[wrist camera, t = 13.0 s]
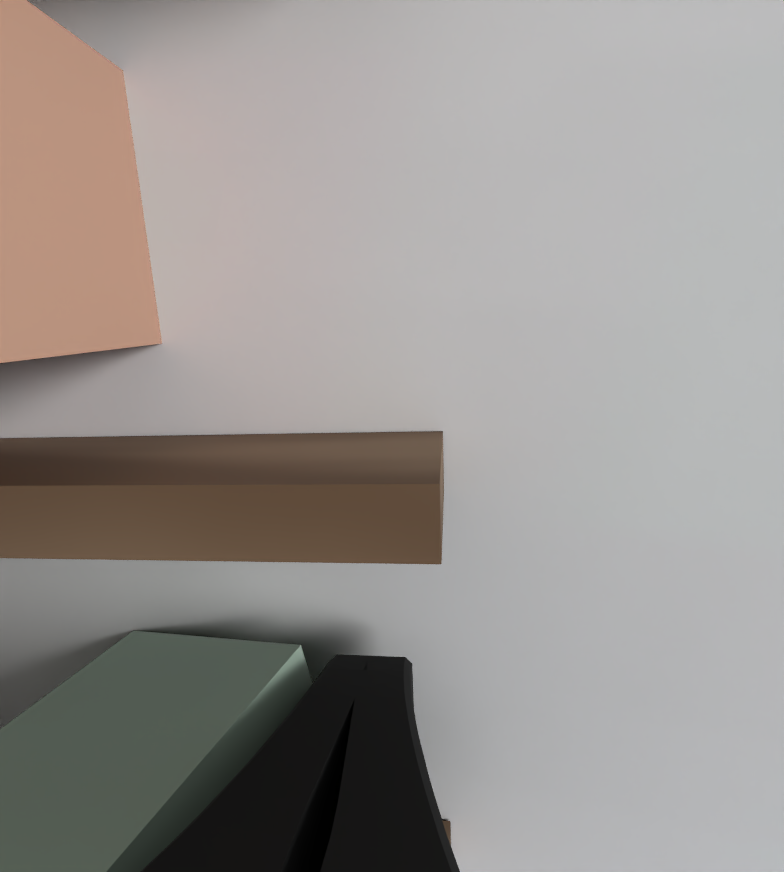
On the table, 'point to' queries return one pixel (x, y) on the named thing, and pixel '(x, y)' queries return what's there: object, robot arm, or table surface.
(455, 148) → the table surface
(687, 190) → the table surface
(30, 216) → the terracotta block
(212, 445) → the rack
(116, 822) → the sage block
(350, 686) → the robot arm
